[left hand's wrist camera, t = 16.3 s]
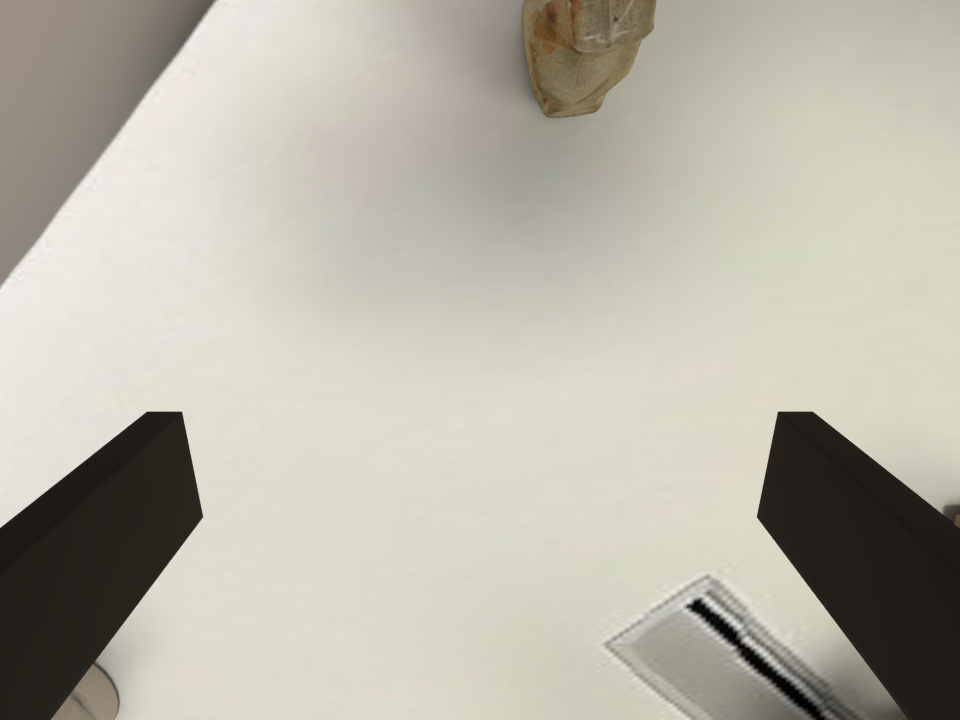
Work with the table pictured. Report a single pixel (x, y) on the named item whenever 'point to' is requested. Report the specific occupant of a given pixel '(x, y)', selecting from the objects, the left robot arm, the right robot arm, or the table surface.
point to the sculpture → (581, 49)
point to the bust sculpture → (90, 699)
